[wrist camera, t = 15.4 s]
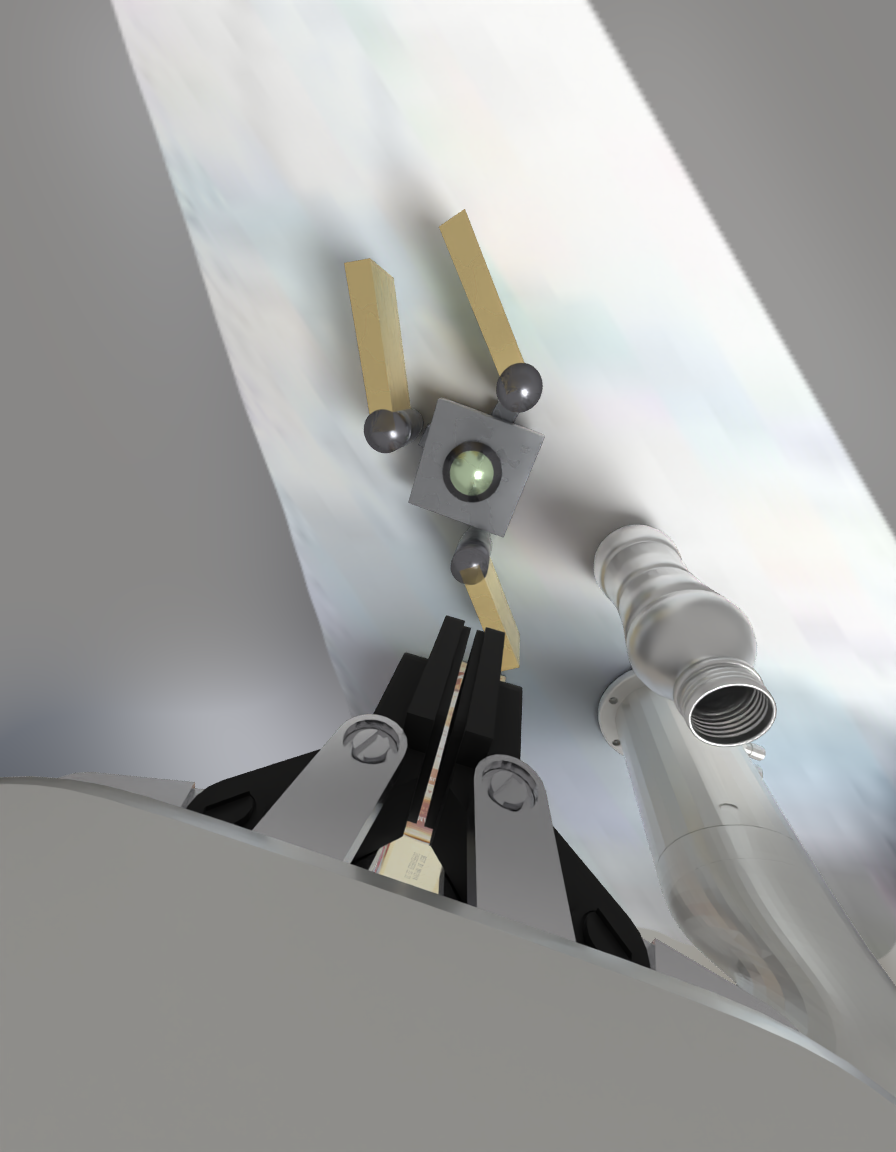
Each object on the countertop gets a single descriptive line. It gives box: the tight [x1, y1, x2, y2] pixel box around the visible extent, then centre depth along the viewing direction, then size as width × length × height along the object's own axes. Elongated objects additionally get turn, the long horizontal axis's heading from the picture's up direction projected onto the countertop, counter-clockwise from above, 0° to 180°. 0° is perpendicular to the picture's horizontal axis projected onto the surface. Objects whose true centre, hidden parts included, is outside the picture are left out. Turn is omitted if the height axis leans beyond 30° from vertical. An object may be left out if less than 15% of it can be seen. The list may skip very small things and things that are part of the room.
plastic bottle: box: [594, 524, 777, 747], centre depth 28 cm, size 6×7×20 cm
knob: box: [451, 526, 520, 671], centre depth 36 cm, size 11×3×8 cm, turn 22°
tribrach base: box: [408, 398, 545, 537], centre depth 33 cm, size 9×10×5 cm
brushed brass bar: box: [439, 209, 543, 413], centre depth 28 cm, size 11×3×8 cm, turn 26°
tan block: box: [344, 258, 423, 453], centre depth 30 cm, size 11×3×8 cm, turn 6°
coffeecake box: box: [375, 661, 506, 894], centre depth 39 cm, size 15×7×20 cm, turn 163°
